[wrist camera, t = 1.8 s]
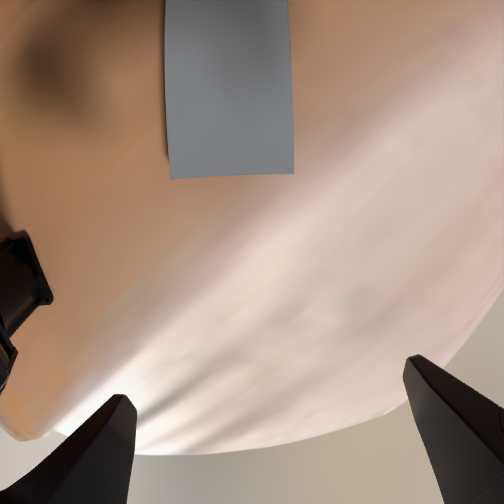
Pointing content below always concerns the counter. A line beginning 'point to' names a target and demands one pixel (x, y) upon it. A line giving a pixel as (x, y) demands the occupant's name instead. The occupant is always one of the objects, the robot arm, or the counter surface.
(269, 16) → the slate tile
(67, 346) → the counter surface
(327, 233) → the counter surface
